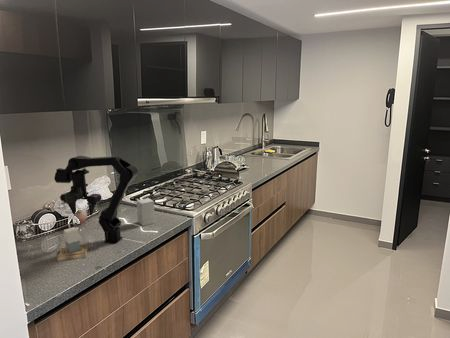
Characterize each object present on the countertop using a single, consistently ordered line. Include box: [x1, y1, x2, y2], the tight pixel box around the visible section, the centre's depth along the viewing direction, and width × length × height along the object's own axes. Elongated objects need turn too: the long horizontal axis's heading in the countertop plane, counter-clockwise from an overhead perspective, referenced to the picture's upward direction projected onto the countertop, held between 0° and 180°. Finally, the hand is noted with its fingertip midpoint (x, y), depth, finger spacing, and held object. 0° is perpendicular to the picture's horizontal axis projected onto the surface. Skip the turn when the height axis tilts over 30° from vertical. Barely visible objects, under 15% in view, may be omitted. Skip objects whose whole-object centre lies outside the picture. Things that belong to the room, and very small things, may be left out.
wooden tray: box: [57, 243, 89, 262], centre depth 151 cm, size 11×11×2 cm
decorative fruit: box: [74, 209, 88, 225], centre depth 184 cm, size 9×8×10 cm
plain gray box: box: [63, 226, 81, 253], centre depth 150 cm, size 4×4×10 cm
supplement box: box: [136, 197, 156, 227], centre depth 185 cm, size 7×7×13 cm
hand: (82, 214), depth 162 cm, fingers open, 9 cm apart
